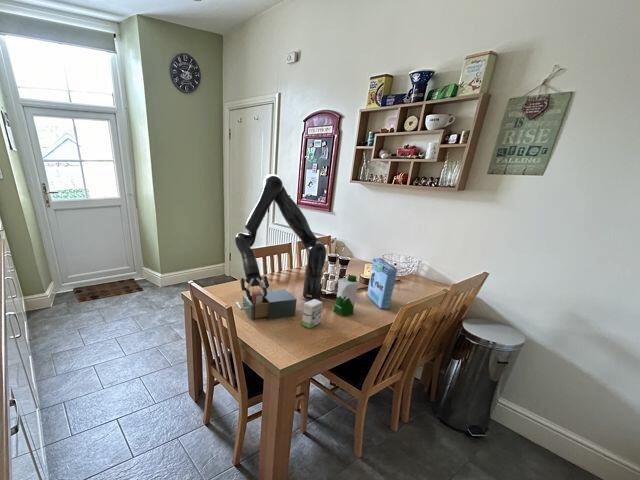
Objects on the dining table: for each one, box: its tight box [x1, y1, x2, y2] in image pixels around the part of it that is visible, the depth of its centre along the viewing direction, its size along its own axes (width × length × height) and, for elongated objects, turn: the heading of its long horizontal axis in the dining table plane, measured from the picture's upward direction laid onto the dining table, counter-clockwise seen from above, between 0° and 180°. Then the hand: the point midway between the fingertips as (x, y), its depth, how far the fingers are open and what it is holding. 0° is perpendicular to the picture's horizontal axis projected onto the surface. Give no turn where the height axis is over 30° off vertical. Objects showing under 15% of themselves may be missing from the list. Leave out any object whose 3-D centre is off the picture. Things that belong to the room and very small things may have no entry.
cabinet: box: [259, 288, 298, 320], centre depth 171 cm, size 15×14×10 cm
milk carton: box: [333, 274, 360, 317], centre depth 169 cm, size 9×9×20 cm
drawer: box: [235, 294, 269, 321], centre depth 167 cm, size 18×13×8 cm
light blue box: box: [366, 257, 398, 310], centre depth 182 cm, size 20×5×23 cm, turn 2°
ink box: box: [301, 299, 323, 329], centre depth 158 cm, size 9×5×12 cm, turn 132°
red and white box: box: [251, 290, 263, 313], centre depth 166 cm, size 4×5×10 cm
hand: (257, 296), depth 164 cm, fingers open, 8 cm apart
